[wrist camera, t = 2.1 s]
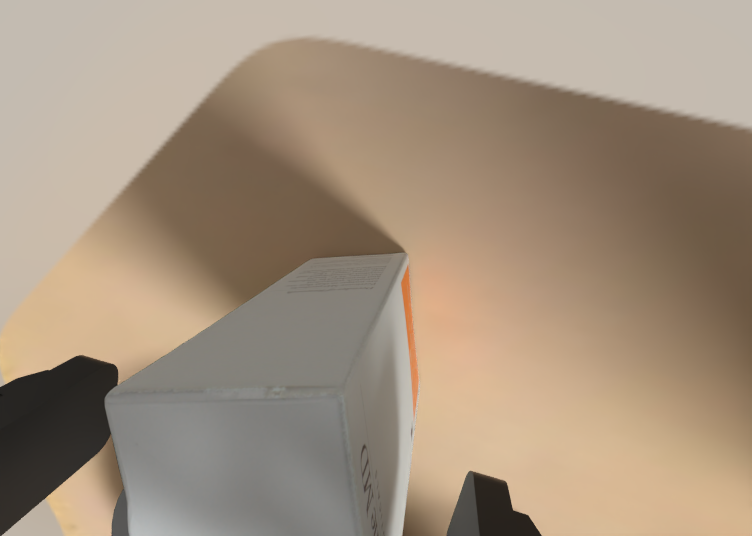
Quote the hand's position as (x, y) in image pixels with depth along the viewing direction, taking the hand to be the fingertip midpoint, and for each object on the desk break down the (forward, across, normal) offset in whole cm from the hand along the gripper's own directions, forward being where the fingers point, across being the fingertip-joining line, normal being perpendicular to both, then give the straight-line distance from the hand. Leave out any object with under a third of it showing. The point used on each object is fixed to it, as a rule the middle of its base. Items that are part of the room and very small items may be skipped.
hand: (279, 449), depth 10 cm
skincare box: (+10, 0, 0) cm, 10 cm away
